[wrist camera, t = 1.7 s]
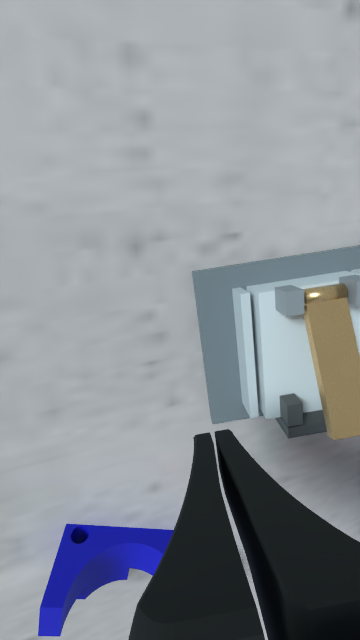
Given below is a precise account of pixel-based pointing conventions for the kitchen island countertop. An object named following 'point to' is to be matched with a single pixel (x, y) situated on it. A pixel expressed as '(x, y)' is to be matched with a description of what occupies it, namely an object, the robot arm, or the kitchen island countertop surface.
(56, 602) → the blue half clamp bracket
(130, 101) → the kitchen island countertop surface
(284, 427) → the heat-sink board
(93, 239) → the kitchen island countertop surface
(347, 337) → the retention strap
